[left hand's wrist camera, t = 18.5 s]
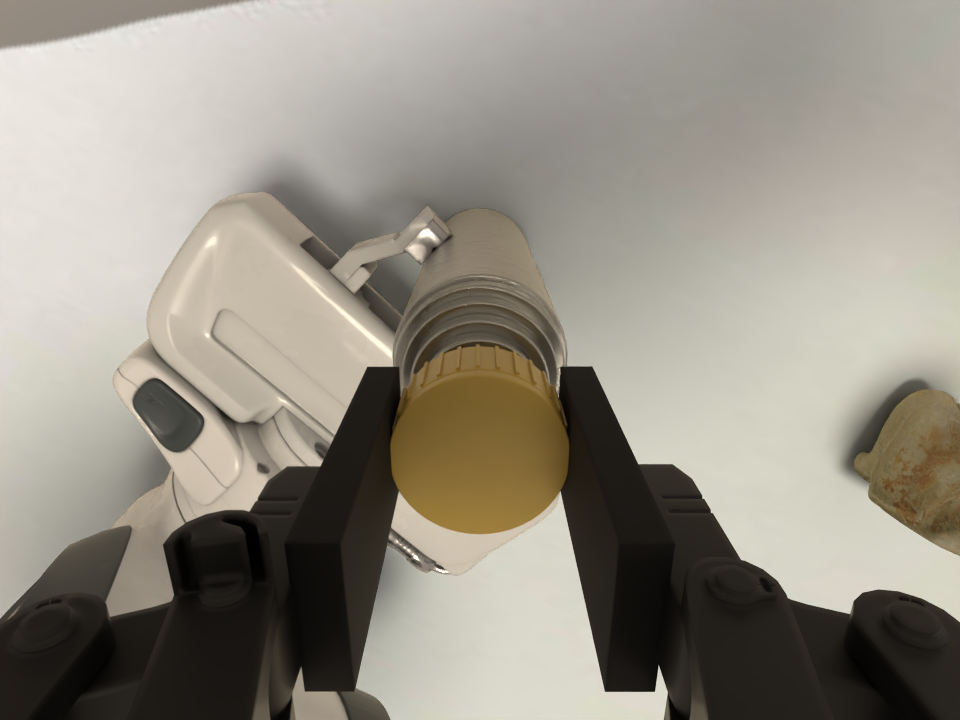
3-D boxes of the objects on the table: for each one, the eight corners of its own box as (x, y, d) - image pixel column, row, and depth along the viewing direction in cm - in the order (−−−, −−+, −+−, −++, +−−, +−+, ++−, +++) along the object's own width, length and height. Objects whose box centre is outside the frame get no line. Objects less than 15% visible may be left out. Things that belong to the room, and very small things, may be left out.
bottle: (411, 264, 33) (312, 458, 14) (473, 186, 32) (463, 280, 12) (485, 324, 34) (493, 581, 15) (549, 252, 33) (649, 432, 13)
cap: (596, 421, 15) (612, 460, 13) (479, 519, 16) (479, 567, 14) (480, 307, 14) (481, 334, 12) (362, 420, 15) (347, 459, 13)
